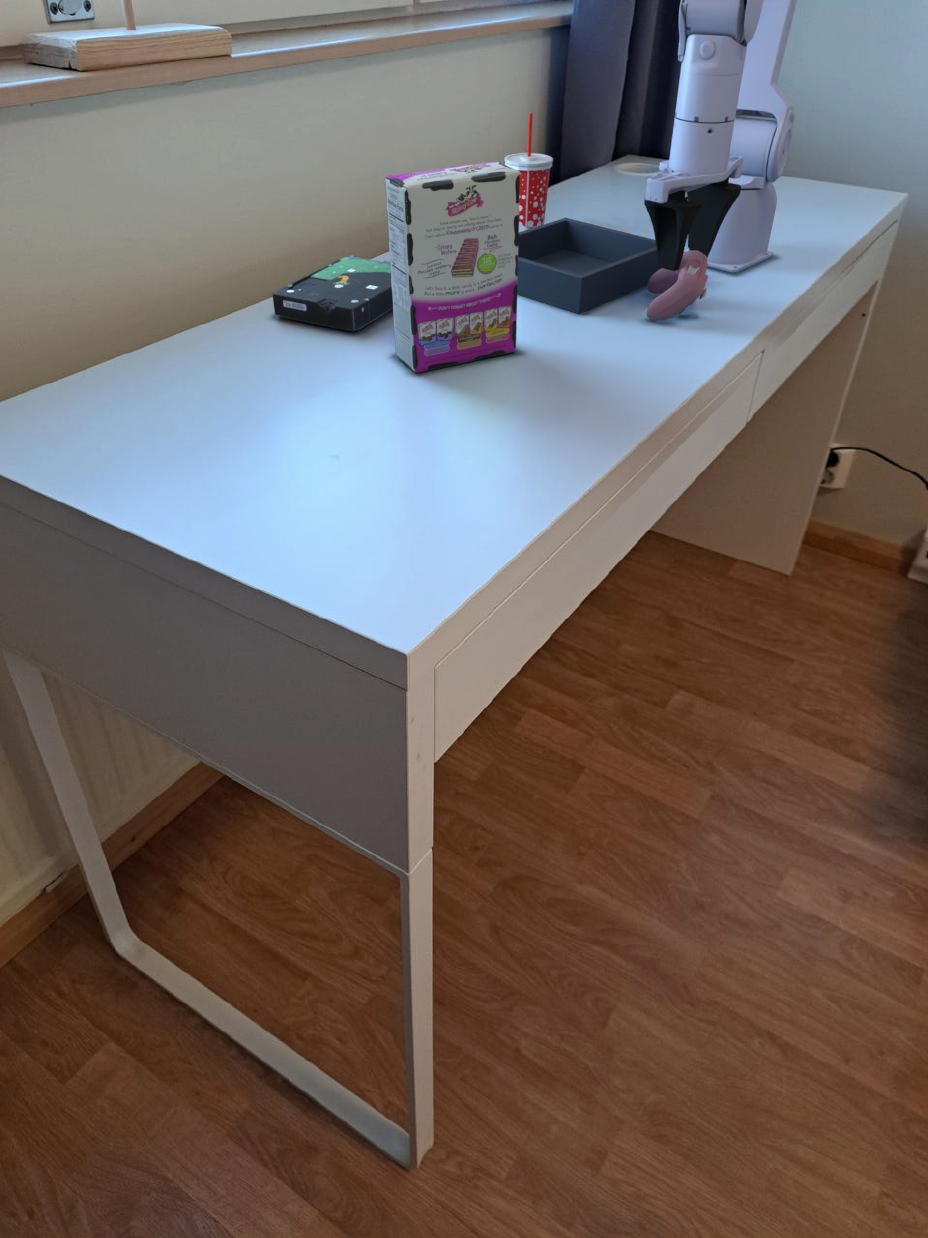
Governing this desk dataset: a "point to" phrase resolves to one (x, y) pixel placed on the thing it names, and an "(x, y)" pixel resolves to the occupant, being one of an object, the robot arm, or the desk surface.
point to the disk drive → (339, 294)
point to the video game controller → (678, 286)
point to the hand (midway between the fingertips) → (683, 262)
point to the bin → (582, 264)
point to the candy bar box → (454, 263)
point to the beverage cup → (531, 183)
